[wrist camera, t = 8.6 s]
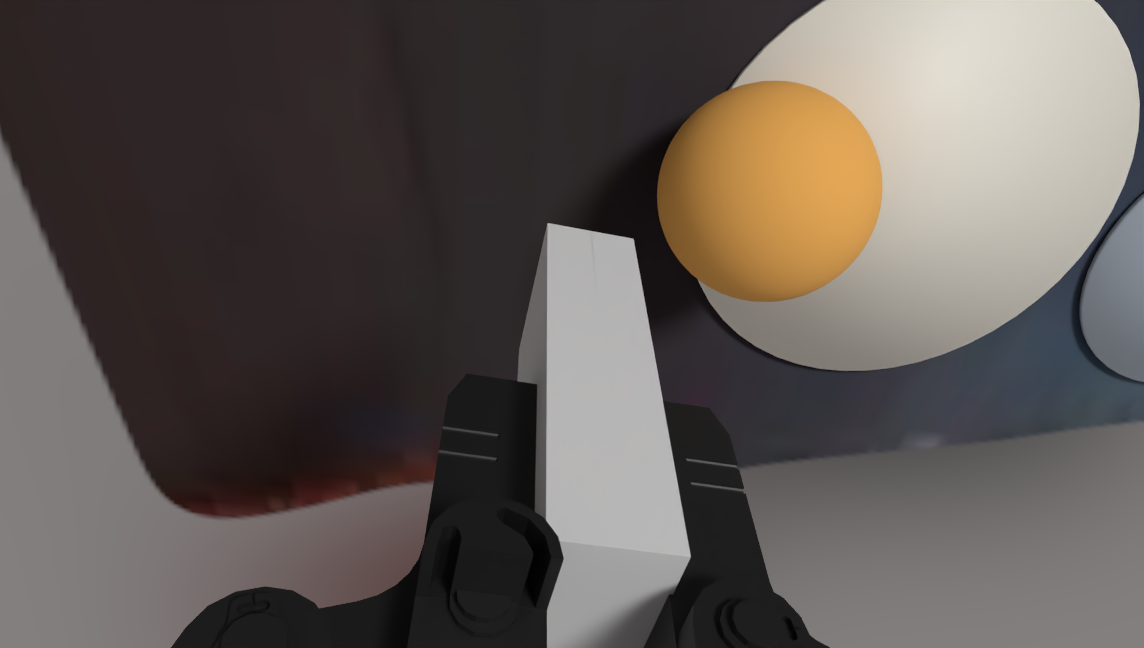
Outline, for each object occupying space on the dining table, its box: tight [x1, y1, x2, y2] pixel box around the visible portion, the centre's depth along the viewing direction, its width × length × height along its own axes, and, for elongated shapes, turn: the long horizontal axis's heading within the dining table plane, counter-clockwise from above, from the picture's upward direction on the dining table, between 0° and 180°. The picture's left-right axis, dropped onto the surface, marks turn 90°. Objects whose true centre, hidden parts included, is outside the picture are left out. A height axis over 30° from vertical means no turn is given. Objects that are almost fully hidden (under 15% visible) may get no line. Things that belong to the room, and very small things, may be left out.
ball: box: [657, 81, 882, 302], centre depth 20 cm, size 6×6×6 cm
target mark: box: [698, 0, 1140, 371], centre depth 23 cm, size 13×13×1 cm
